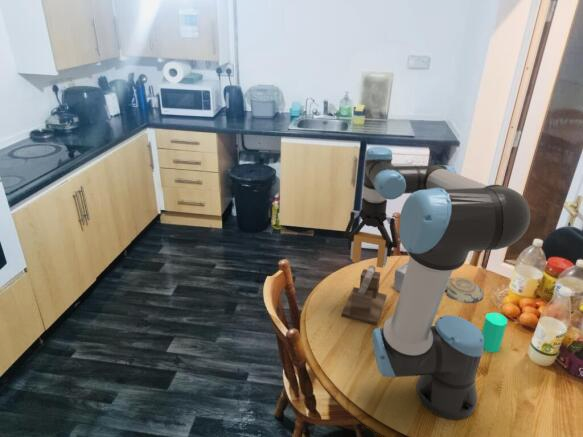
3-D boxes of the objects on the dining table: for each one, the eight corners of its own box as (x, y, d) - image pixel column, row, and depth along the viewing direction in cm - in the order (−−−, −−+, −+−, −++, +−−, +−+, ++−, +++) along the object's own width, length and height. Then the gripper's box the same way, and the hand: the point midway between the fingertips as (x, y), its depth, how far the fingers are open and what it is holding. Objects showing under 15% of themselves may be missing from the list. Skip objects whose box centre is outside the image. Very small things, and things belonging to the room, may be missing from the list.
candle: (498, 340, 133) (507, 309, 128) (501, 354, 128) (510, 322, 123) (477, 337, 134) (485, 306, 129) (479, 350, 129) (488, 318, 124)
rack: (376, 325, 139) (380, 294, 134) (341, 316, 143) (343, 286, 138) (386, 297, 153) (389, 269, 147) (353, 290, 157) (355, 261, 151)
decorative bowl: (492, 295, 155) (458, 275, 166) (494, 287, 153) (459, 267, 164) (465, 310, 148) (431, 288, 159) (468, 301, 146) (433, 280, 157)
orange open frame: (382, 267, 137) (385, 240, 132) (352, 261, 140) (354, 234, 136) (384, 263, 139) (387, 236, 135) (354, 257, 143) (356, 230, 138)
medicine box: (402, 294, 155) (405, 274, 151) (392, 288, 158) (395, 268, 154) (415, 286, 159) (418, 266, 155) (405, 281, 162) (408, 261, 158)
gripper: (414, 199, 129) (405, 261, 139) (342, 188, 136) (338, 248, 146) (410, 209, 123) (401, 273, 133) (335, 197, 130) (331, 259, 140)
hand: (368, 260), depth 139 cm, fingers closed on orange open frame, 10 cm apart
